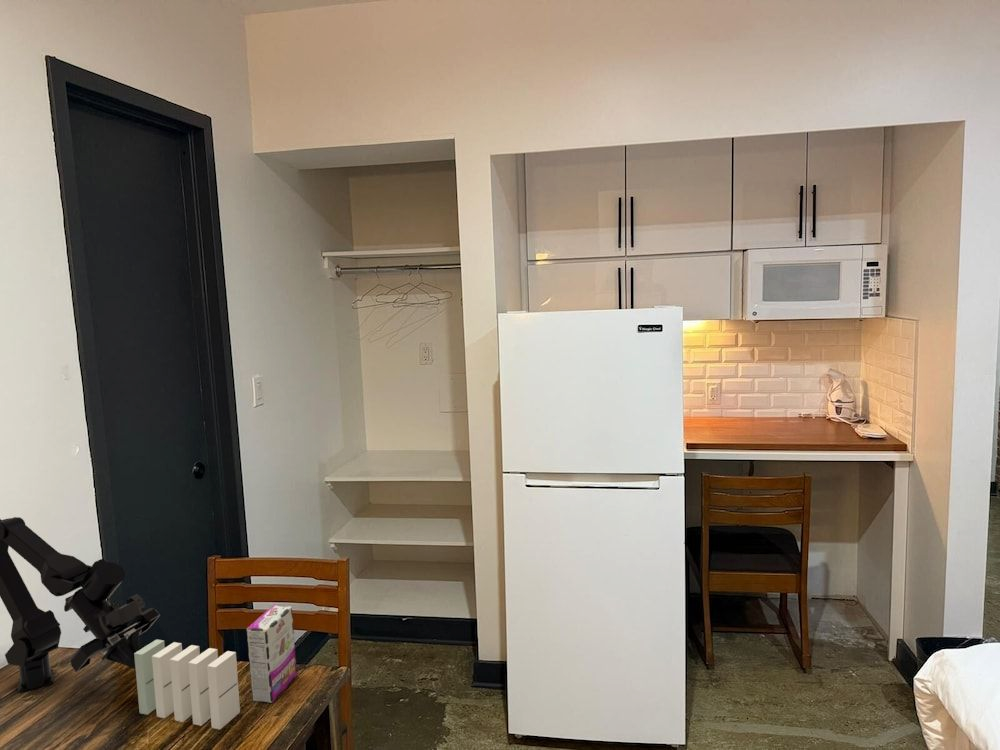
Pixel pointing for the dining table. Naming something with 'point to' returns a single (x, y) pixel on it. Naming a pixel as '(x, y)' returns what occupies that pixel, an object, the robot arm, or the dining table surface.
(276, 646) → the candy bar box
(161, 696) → the ivory domino
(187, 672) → the ivory domino
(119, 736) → the dining table surface
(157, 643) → the sage domino
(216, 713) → the ivory domino
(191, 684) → the ivory domino
